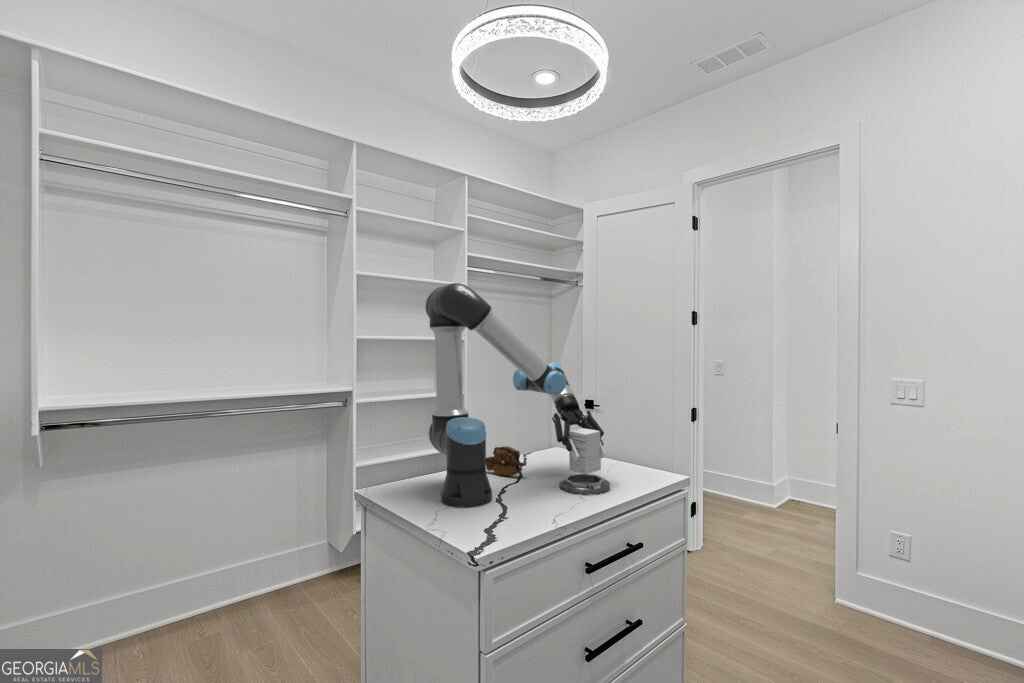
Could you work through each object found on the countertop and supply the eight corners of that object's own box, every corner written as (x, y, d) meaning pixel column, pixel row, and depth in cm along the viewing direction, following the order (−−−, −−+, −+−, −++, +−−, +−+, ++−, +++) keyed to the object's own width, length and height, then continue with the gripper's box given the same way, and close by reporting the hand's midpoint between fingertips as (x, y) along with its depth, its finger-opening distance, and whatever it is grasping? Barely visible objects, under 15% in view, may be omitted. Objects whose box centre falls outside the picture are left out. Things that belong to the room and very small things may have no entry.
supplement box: (583, 466, 165) (583, 427, 165) (601, 470, 159) (601, 430, 159) (568, 470, 160) (568, 430, 160) (586, 474, 154) (586, 433, 154)
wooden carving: (480, 474, 177) (480, 445, 177) (487, 471, 181) (487, 443, 181) (521, 480, 168) (521, 450, 168) (527, 476, 172) (527, 448, 172)
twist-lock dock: (575, 497, 149) (575, 488, 149) (550, 483, 164) (550, 475, 164) (620, 491, 155) (619, 482, 155) (592, 478, 170) (592, 470, 170)
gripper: (588, 405, 178) (614, 460, 163) (533, 410, 169) (555, 467, 155) (596, 392, 173) (624, 447, 158) (539, 396, 165) (563, 454, 150)
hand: (590, 457), depth 157 cm, fingers closed on supplement box, 9 cm apart
